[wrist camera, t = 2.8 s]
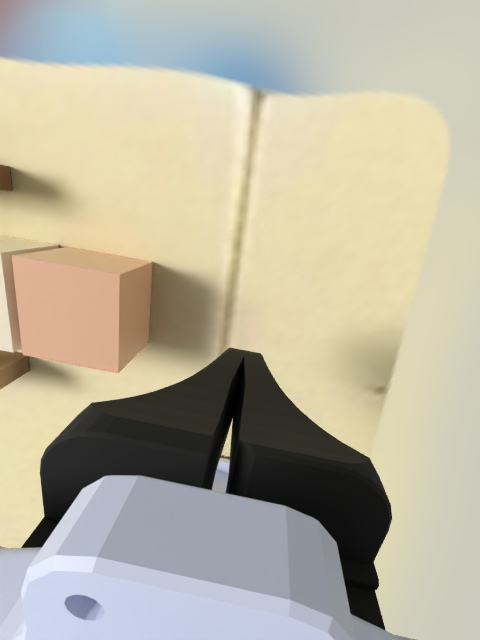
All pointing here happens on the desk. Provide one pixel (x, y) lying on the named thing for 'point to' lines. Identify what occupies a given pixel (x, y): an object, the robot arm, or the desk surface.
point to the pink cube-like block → (83, 306)
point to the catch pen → (6, 364)
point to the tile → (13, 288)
